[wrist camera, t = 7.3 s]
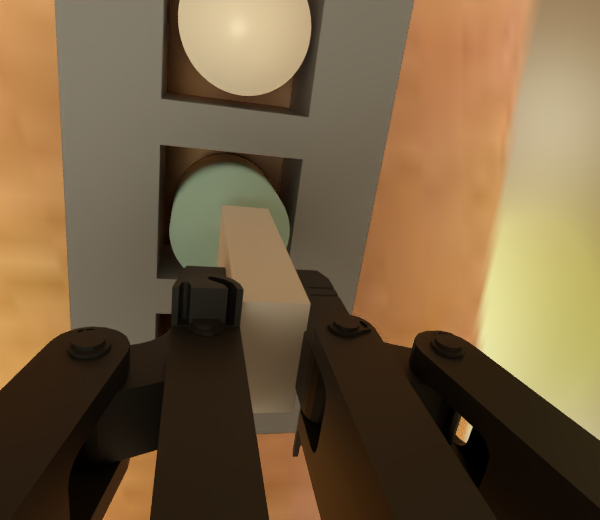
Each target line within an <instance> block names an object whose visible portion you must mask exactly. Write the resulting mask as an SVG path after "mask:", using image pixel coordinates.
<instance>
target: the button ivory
mask: <svg viewBox="0 0 600 520" xmlns="http://www.w3.org/2000/svg"><path fill="white" fill-rule="evenodd" d="M178 26H179V33H180V37H181V41H182V44H183V47H184V49H185V52H186V54H187V56H188V58H189V60H190V61H191V63H192V64H193V66H194V67H195V68H196V70H197V71H198V72H199V73H200V74H201V75H202V76H203V77H204V78H205V79H206V80H207V81H208V82H210V83H211V84H213V85H214V86H216V87H217V88H219V89H221V90H223V91H226V92H229V93H232V94H236V95H241V96H256V95H261V94H265V93H268V92H271V91H273V90H275V89H277V88H279V87H281V86H282V85H283V84H285V83H286V82H287V81H288V80H289V79H290V78H291V77H292V76H293V75H294V74H295V73H296V71H297V70H298V69H299V67H300V66H301V64H302V62H303V60H304V58H305V56H306V53H307V50H308V47H309V42H310V37H311V15H310V9H309V5H308V2H307V0H180V2H179V9H178Z"/></svg>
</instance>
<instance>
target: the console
mask: <svg viewBox="0 0 600 520" xmlns="http://www.w3.org/2000/svg"><path fill="white" fill-rule="evenodd" d="M307 2H308V5H309V9H310V15H311V37H310V42H309V47H308V50H307V53H306V56H305V58H304V60H303V62H302V64H301V66H300V67H299V69H298V70H297V71H296V73H295V74H294V77H293V85H292V93H291V101H290V108H284V107H276V106H269V105H261V104H253V103H246V102H238V101H230V100H222V99H215V98H207V97H199V96H191V95H184V94H176V93H168V92H167V90H168V57H169V23H170V0H55V16H56V36H57V56H58V76H59V96H60V117H61V137H62V157H63V177H64V197H65V217H66V238H67V258H68V278H69V298H70V318H71V330H74V329H77V328H82V327H84V328H85V327H91V326H95V327H107V328H110V329H114V330H118V331H120V332H121V333H123V334H124V335H126V336H127V338H128V340H129V342H130V345H133V344H139V343H143V342H148V341H151V340H154V339H156V338H159V337H160V322H161V314H171V307H172V286H173V285H174V283H175V281H177V278H178V273H179V272H180V271H181V270H183V269H184V267H183V266H182V265H181V264H180V263H179V261H178V260H177V258H176V256H175V254H174V252H173V249H172V246H171V245H167V244H163V223H164V189H165V156H166V145H168V146H177V147H187V148H197V149H206V150H216V151H226V152H235V153H245V154H255V155H265V156H274V157H284V159H283V167H282V175H281V184H280V192H279V198H280V200H281V202H282V203H283V205H284V207H285V209H286V212H287V215H288V219H289V227H290V233H289V240H288V245H287V248H286V250H287V252H288V254H289V257H290V259H291V261H292V263H293V266H294V268H295V269H299V270H317V271H319V272H320V273H321V274H323V275H324V276H326V277H327V278H328V279H329V280H330V282H331V283H332V285H333V287H334V289H335V290H336V292H337V294H338V297H340V299H341V301H342V302H343V304H344V306H345V308H346V309H347V311H348V313H349V314H350V315H352V311H353V306H354V301H355V295H356V290H357V285H358V280H359V275H360V270H361V265H362V260H363V255H364V250H365V245H366V240H367V235H368V230H369V225H370V220H371V215H372V210H373V205H374V200H375V195H376V190H377V185H378V180H379V175H380V170H381V164H382V159H383V154H384V149H385V144H386V139H387V134H388V129H389V124H390V119H391V114H392V109H393V104H394V99H395V94H396V89H397V84H398V79H399V74H400V69H401V64H402V59H403V54H404V49H405V44H406V39H407V34H408V28H409V23H410V18H411V13H412V8H413V3H414V0H307ZM299 411H300V403H299V400H298V396H297V393H296V397H295V403H294V409H293V412H287V413H253V416H254V423H255V430H256V434H275V433H296V428H297V423H298V417H299Z"/></svg>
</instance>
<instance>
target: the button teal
mask: <svg viewBox="0 0 600 520" xmlns="http://www.w3.org/2000/svg"><path fill="white" fill-rule="evenodd" d="M222 205H227V206H240V207H253V208H266V209H268V210H269V212H270V214H271V216H272V219H273V221H274V223H275V225H276V228H277V230H278V232H279V234H280V236H281V239H282V241H283V243H284V245H285V248H287V245H288V240H289V233H290V227H289V219H288V215H287V212H286V209H285V207H284V205H283V203H282V202H281V200H280V198H279V197H278V195H277V193H276V192H275V190H274V189H273V187H272V185H271V184H270V182H269V180H268V179H267V177H266V176H265V174H264V173H263V172H262V171H261V170H260V169H259V168H258V167H257V166H256V165H255V164H253V163H252V162H250V161H249V160H247V159H244V158H242V157H239V156H236V155H230V154H218V155H212V156H208V157H206V158H203V159H201V160H199V161H197V162H196V163H194V164H193V165H192V166H190V167H189V168H188V169H187V170H186V171H185V173H184V174H183V175H182V177H181V179H180V180H179V182H178V185H177V187H176V191H175V196H174V202H173V208H172V214H171V220H170V228H169V234H170V242H171V246H172V249H173V252H174V254H175V256H176V258H177V260H178V261H179V263H180V264H181V265H182V266H183V267H184V268H185V267H186V266H207V267H217V262H218V249H219V236H220V223H221V210H222Z"/></svg>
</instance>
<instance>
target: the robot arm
mask: <svg viewBox="0 0 600 520" xmlns="http://www.w3.org/2000/svg"><path fill="white" fill-rule="evenodd" d="M296 393H297V396H298V400H299V403H300V411H299V417H298V423H297V428H296V434H295V440H294V446H293V457H296V456H298V454H299V448H300V446H301V445H302V447H303V451H304V455H305V459H306V463H307V467H308V471H309V475H310V478H311V482H312V486H313V490H314V494H315V498H316V502H317V506H318V510H319V513H320V517H321V520H600V440H598V439H597V438H596V437H594V436H593V435H592V434H590V433H589V432H587V431H586V430H585V429H583V428H582V427H581V426H580V425H578V424H577V423H576V422H574V421H573V420H572V419H570V418H569V417H567V416H566V415H565V414H564V413H562V412H561V411H560V410H558V409H557V408H556V407H554V406H553V405H552V404H550V403H549V402H548V401H546V400H545V399H544V398H542V397H541V396H539V395H538V394H537V393H536V392H534V391H533V390H532V389H530V388H529V387H528V386H526V385H525V384H524V383H522V382H521V381H520V380H518V379H517V378H516V377H514V376H513V375H512V374H510V373H509V372H508V371H506V370H505V369H504V368H502V367H501V366H500V365H498V364H497V363H496V362H494V361H493V360H492V359H490V358H489V357H488V356H487V355H485V354H484V353H483V352H481V351H480V350H479V349H477V348H476V347H475V346H473V345H472V344H470V343H469V342H467V341H465V340H464V339H462V338H460V337H457V336H455V335H453V334H452V333H449V332H443V331H425V332H422V333H419V334H418V335H417V336H416V337H415V340H414V343H413V347H412V348H408V347H403V346H398V345H393V344H389V343H385V342H383V340H382V339H381V337H380V336H379V334H378V333H377V331H376V329H375V328H374V327H373V326H372V325H371V324H370V323H369V322H367V321H365V320H363V319H361V318H359V317H356V316H353V315H350V314H349V313H348V311H347V309H346V308H345V306H344V304H343V302H342V301H341V299H340V297H338V294H337V292H336V290H335V289H334V287H333V285H332V283H331V282H330V280H329V279H328V278H327V277H326V276H324V275H323V274H321V273H320V272H319V271H317V270H299V269H295V268H294V266H293V263H292V261H291V259H290V257H289V254H288V252H287V250H286V248H285V245H284V243H283V241H282V239H281V236H280V234H279V232H278V230H277V228H276V225H275V223H274V221H273V219H272V216H271V214H270V212H269V210H268V209H266V208H253V207H240V206H227V205H222V210H221V223H220V236H219V249H218V262H217V267H207V266H186V267H185V268H184V269H183V270H181V271H180V272H179V273H178V278H177V281H175V283H174V285H173V286H172V307H171V328H170V329H169V330H168V332H167V333H165V334H164V335H162V336H161V337H159V338H156V339H154V340H151V341H148V342H143V343H139V344H133V345H130V342H129V340H128V338H127V336H126V335H124V334H123V333H121V332H120V331H118V330H114V329H110V328H107V327H95V326H91V327H85V328H84V327H82V328H77V329H74V330H71V331H68V332H65V333H63V334H60V335H59V336H57V337H56V338H54V339H53V340H52V341H50V342H49V343H48V344H47V345H46V346H45V347H44V348H43V349H42V350H41V351H40V352H39V353H38V354H37V355H36V356H35V357H34V358H33V359H32V360H31V361H30V362H29V363H28V364H27V365H26V366H25V367H24V368H23V369H22V370H21V371H20V372H19V373H18V374H16V375H15V376H14V377H13V378H12V379H11V380H10V381H9V382H8V383H7V384H6V385H5V386H4V387H3V388H2V389H1V390H0V520H102V519H103V517H104V515H105V513H106V511H107V509H108V507H109V505H110V503H111V501H112V499H113V497H114V495H115V493H116V491H117V489H118V487H119V485H120V483H121V480H122V478H123V476H124V474H125V472H126V470H127V468H128V464H129V460H130V458H131V457H134V456H138V455H141V454H144V453H148V452H151V451H154V450H157V459H156V468H155V478H154V487H153V496H152V506H151V515H150V520H269V516H268V509H267V502H266V496H265V489H264V483H263V476H262V469H261V463H260V456H259V450H258V443H257V436H256V430H255V423H254V416H253V413H287V412H293V409H294V403H295V397H296ZM461 416H462V417H463V418H464V419H465V420H466V421H467V422H468V423H469V424H471V425H472V426H473V428H472V431H471V433H470V436H469V439H468V441H467V443H465V442H463V441H462V440H460V439H459V438H458V437H457V436H456V435H455V434H456V431H457V428H458V425H459V422H460V419H461Z"/></svg>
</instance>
